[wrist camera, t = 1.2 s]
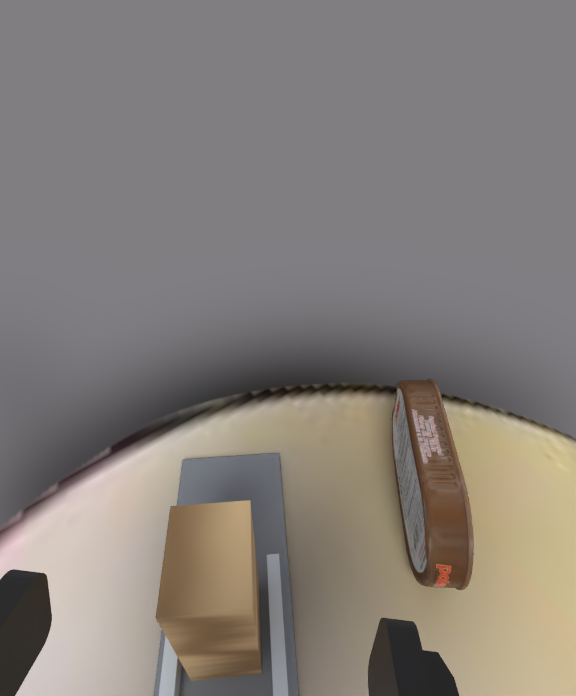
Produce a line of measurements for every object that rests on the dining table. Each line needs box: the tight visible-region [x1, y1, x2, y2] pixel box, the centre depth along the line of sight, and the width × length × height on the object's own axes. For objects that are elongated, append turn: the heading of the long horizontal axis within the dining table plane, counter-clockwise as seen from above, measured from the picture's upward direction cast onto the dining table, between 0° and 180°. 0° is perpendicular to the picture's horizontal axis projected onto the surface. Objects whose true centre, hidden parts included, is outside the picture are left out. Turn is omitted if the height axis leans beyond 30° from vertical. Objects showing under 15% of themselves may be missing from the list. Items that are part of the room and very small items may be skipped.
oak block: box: [156, 500, 262, 681], centre depth 23 cm, size 4×5×10 cm
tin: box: [392, 379, 474, 590], centre depth 31 cm, size 15×3×8 cm, turn 176°
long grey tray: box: [154, 453, 299, 696], centre depth 27 cm, size 8×23×2 cm, turn 5°
